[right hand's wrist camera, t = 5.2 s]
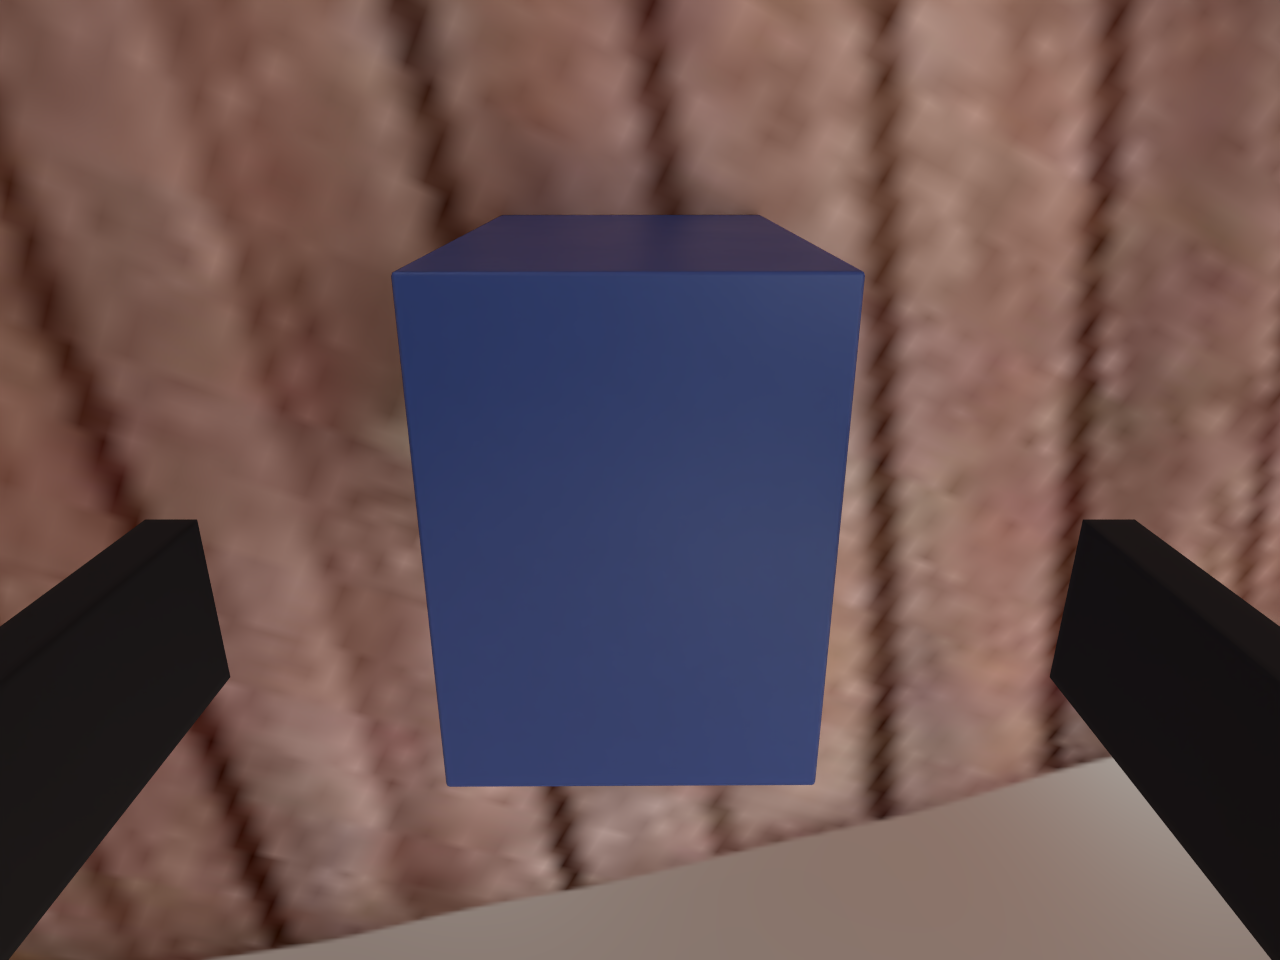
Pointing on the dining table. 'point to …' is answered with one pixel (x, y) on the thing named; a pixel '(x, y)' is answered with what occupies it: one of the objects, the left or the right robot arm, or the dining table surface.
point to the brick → (629, 494)
